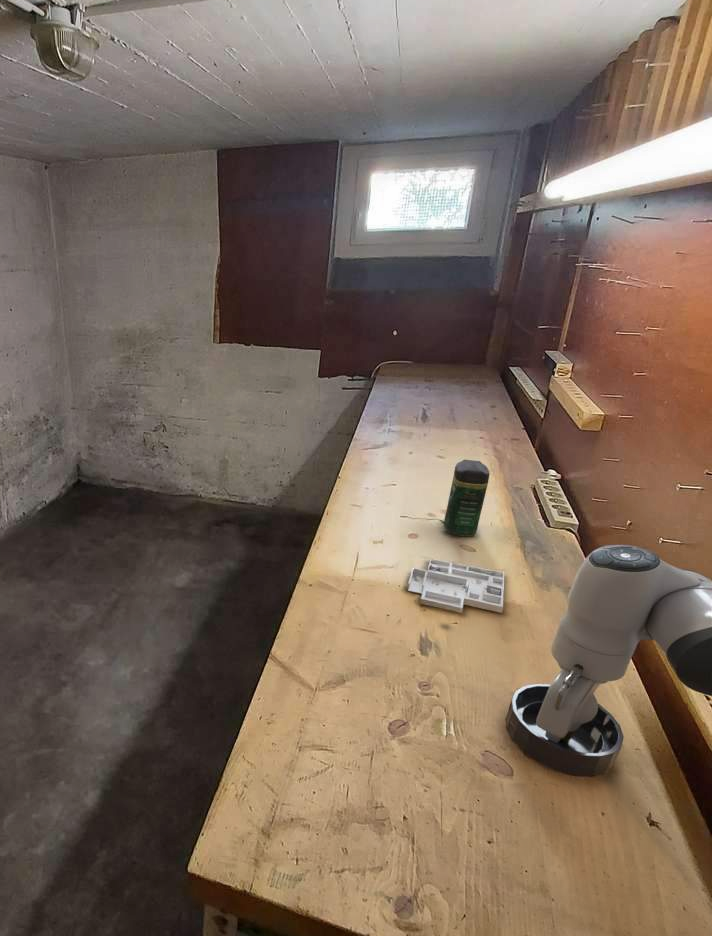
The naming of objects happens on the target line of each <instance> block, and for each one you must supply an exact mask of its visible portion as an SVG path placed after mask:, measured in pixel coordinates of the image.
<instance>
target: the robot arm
mask: <svg viewBox="0 0 712 936" xmlns="http://www.w3.org/2000/svg"><path fill="white" fill-rule="evenodd" d="M566 602H567V603H566V604H567V609H566V612H565V613H564V614H563V616H562V617H561V618H560V620H559V622H558V626H557V629H556V631H555V635H554V638H553V641H552V644H551V647H550V653H551V655H552V657H553V658H554V660H555V661H556V662H557V664H558V666H559V668H560V669H561V670H560V671H559V673H558V674H557V675H556V676H555V678H554V680H553V681H552V682H551V683H550V684H551V686H550V687H549V689H548V691H547V693H546V696H545V698H544V701H543V703H542V706H541V708H540V711H539V714H538V716H537V719H536V724H537V726H538V727H539V728H541V729H543V730H545V731H546V734H545V736H546V737H547V738H548V739H550V740H552V741H554V742H556V743H558V742H559V741H560V739H561V738H564V737H565V736H566V734H567V733H568V731H569V730H570V728H571V727H572V725H573V724H574V722H575V721H576V719H577V718H578V716H579V715H580V713H581V712H582V710H583V709H584V707H585V706H586V704H587V702H588V700H589V698H590V697H591V695H592V694H594V695H595V692H596V691H597V689H598V688H599V687H600V685H602V684H603V685H604V684H606V683H609V682H615V681H618V680H620V679H622V678H623V677H624V676H625V674H626V672H627V669H628V667H629V665H630V662H631V660H632V657H633V655H634V653H635V650H636V648H637V645H638V644H639V643H640V642H641V641H645V640H646V641H653V642H654V643H655V644H656V646H657V647H658V648H659V649H660V650H661V652H662V653H663V655H665V657H666V660H667V661H668V663H669V665H670V667H671V668H672V670H673V671H674V673H675V675H676V676H677V679H678V680H679V681H680V682H681V683H682V684H683V685H684V686H685V687H687V688H688V689H690V690H691V691H695V693H696V692H697V693H700V694H702V695H706V696H708V697H709V696H710V697H712V580H711V579H710V578H708V577H707V576H705V575H704V574H702V573H700V572H697V571H693V570H691V569H690V570H689V569H684V568H683V569H681V568H678V567H676V566H673V565H671V564H669V563H668V562H665V561H664V560H662V559H661V558H660V556H658V555H657V554H656V553H655V552H653V551H651V550H649V549H646V548H643V547H641V546H636V545H629V544H609V545H604V546H601V547H598V548H596V549H594V550H593V551H591V552H590V553H589V554H588V555H587V556H586V557H585V559H584V560H583V562H582V563H581V565H580V566H579V568H578V570H577V572H576V574H575V577H574V580H573V581H572V585H571V587H570V589H569V593H568V596H567V601H566Z"/></svg>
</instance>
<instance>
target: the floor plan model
mask: <svg viewBox="0 0 712 936" xmlns="http://www.w3.org/2000/svg"><path fill="white" fill-rule="evenodd" d="M406 591H409V592H413V593H418V594H421V596H420V602H419V603H420V604H421V605H425V606H430V607H434V608H438V609H443V610H447V611H452V612H456V613H460V614H462V613H463V610H464V609H463V608H464V605H465V606H470V607H473V608H477V609H482V610H487V611H492V612H496V613H500V614H502V613H503V610H504V592H505V571H504V572H503V571H498V570H493V569H488V568H483V567H479V566H478V567H477V566H475V565H474V566H473V565H469V564H459V563H455V562H450V561H446V560H445V561H444V560H439V559H435V558H430V559H429V563H428V568H427V569H423V568H419V567H418V568H417V567H412V569H411V571H410V575H409V579H408V582H407V588H406Z"/></svg>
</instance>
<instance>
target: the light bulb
mask: <svg viewBox="0 0 712 936" xmlns="http://www.w3.org/2000/svg"><path fill="white" fill-rule="evenodd" d="M598 704H599V703H598V700H597V698H596V696H595V693H594V694H592V695H591V697H590V698H589V700H588V702H587V704H586V706H585V707H584V709H583V710H582V712H581V713H580V715H579V716H578V718H577V719H576V721H575V722H574V724H573V725H572V727H571V728H570V730H569V731H568V733H567V734H566V736H565V737H564V738H561V739H560V740H564V741H568V740H570V739H571V737H572V735H573V733H574V731H575V730H577V729H578V728H579V727H580V725H582V724H584V723H587V722H589V721H591V720H592V719H593V718H594V717H595V716H596V714H597V711H598Z"/></svg>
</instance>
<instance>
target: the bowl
mask: <svg viewBox="0 0 712 936" xmlns="http://www.w3.org/2000/svg"><path fill="white" fill-rule="evenodd" d="M551 684H552V683H550V684H549V683H531V684H527V685H522V686H521V687H520V688H519V689H517V690H516V691H514V693H513V695H512V698H511V699H510V704H509V706H508V710H507V713H506V717H505V719H504V720H505V727H506V729H505V730H506V731H507V733H508V735H509V737H510V739H511V740H512V742H513V743H514V744H515V746H517V747H518V748H519V749H520V751H521V752H522V753H523V754H525V755H526V756H527V757H529V758H530V759H532V760H533V761H535V762H536V763H538V764H539V765H541V766H544V767H546V768H548V769H550V770H552V771H554V772H557V773H559V774H563V775H568V776H571V777H575V778H595V777H599V776H603V775H605V774H606V773H608V772H609V771H610V770H612V768H613V767H614V765H615V762H616V760H617V758H618V757H619V754H620V751H621V750H622V747H623V744H624V743H623V742H624V738H625V736H624V733H623V730H622V727H621V725H620V723H619V722H618V721H617V720H616V718H615V717H614V716H613V714H611V712H610V711H608V710H607V709H606V708H605V707H603V706H602V705H601V704H599V703H598V711H597V714H596V716H595V717H594V718H593V719H592V720H591V721H589V722H587V723H584V724H582V725H580V727H579V728H578V729H577V730H575V731H574V733H573V735H572V737H571V739H570V740H568V741H564V740H560V741H559V742H558V743H556V742H554V741H552V740H550V739H548V738H547V737H546V736H545V734H546V731H545V730H543V729H541V728H539V727H538V726H537V724H536V719H537V716H538V714H539V711H540V708H541V706H542V703H543V701H544V698H545V696H546V693H547V691H548V689H549V687H550V686H551Z"/></svg>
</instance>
